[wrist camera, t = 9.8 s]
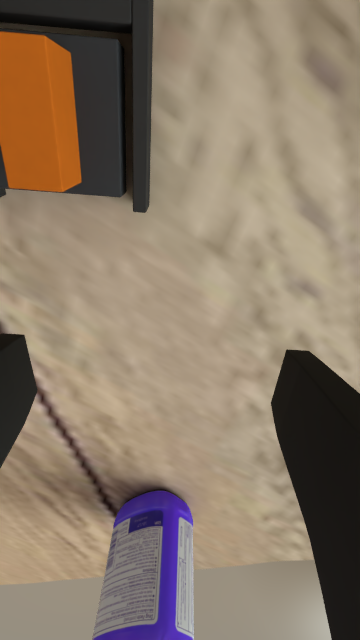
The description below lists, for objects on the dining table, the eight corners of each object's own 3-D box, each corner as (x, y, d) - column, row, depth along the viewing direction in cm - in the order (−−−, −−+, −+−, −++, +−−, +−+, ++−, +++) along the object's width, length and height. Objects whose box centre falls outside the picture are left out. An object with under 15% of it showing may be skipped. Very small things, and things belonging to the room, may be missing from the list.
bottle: (146, 530, 32) (111, 879, 17) (105, 505, 30) (24, 883, 15) (203, 505, 30) (221, 889, 15) (163, 477, 27) (136, 895, 12)
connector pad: (14, 183, 15) (-36, 198, 12) (-13, 35, 12) (-89, -1, 9) (126, 191, 15) (110, 210, 12) (124, 47, 13) (101, 17, 9)
